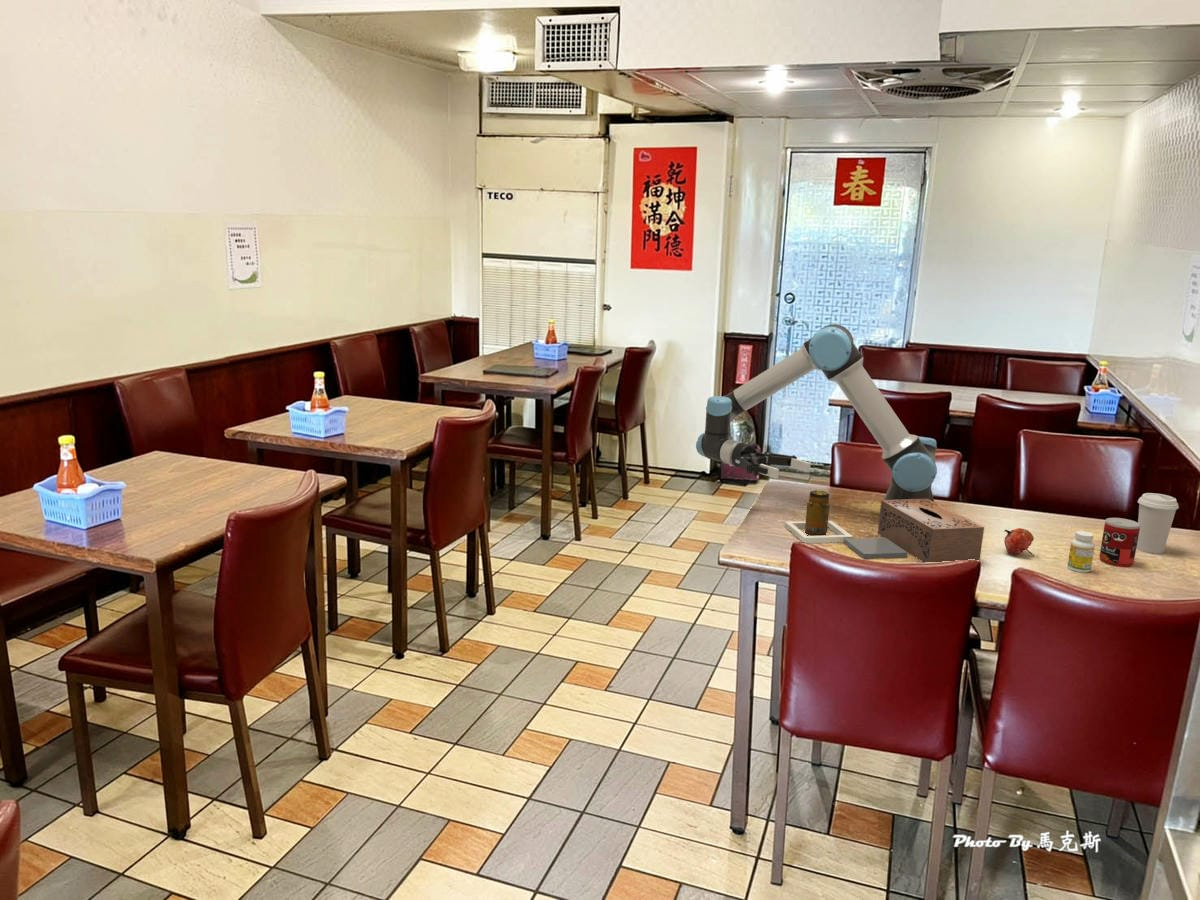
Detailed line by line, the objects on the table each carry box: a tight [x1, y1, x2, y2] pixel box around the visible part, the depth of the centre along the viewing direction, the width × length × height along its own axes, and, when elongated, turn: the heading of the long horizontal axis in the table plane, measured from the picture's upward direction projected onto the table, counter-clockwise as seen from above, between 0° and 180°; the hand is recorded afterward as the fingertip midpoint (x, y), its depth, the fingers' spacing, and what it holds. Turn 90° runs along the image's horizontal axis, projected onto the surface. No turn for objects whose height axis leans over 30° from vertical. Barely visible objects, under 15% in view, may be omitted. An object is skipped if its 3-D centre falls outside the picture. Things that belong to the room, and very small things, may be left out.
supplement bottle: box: [1067, 530, 1096, 574], centre depth 230 cm, size 5×5×10 cm
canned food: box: [1099, 517, 1140, 568], centre depth 236 cm, size 8×8×11 cm
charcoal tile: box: [843, 537, 908, 560], centre depth 239 cm, size 12×12×1 cm
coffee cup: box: [1136, 492, 1180, 555], centre depth 246 cm, size 10×10×15 cm
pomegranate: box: [1003, 527, 1035, 557], centre depth 240 cm, size 7×7×10 cm
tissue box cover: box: [877, 499, 985, 563], centre depth 242 cm, size 26×14×10 cm, turn 12°
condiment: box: [804, 489, 835, 536], centre depth 250 cm, size 7×8×12 cm
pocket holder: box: [784, 520, 854, 544], centre depth 251 cm, size 14×14×2 cm
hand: (794, 470), depth 255 cm, fingers open, 13 cm apart
